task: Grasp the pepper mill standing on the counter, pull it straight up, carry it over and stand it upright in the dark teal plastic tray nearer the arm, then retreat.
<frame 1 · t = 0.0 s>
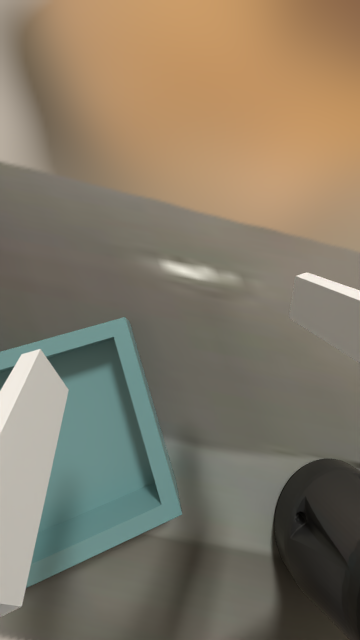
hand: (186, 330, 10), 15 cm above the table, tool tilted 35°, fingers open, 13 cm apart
tray: (66, 430, 23), on the table
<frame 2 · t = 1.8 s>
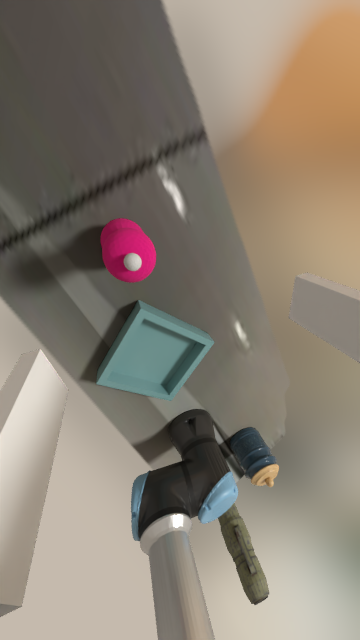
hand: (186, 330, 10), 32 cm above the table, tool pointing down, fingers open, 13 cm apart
tray: (154, 350, 50), on the table
pepper mill: (122, 239, 37), on the table
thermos: (211, 471, 89), on the table
canister: (242, 436, 83), on the table
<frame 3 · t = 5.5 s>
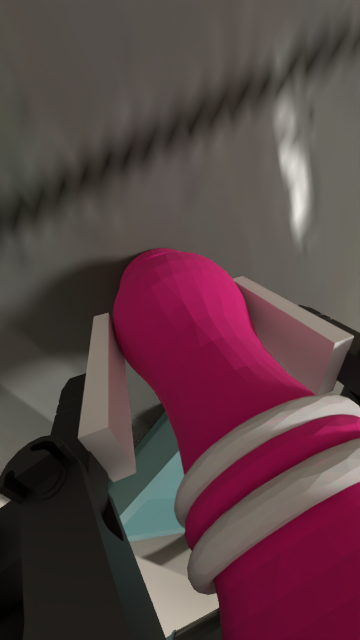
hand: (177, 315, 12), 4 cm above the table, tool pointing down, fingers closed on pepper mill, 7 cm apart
tray: (193, 457, 29), on the table
pepper mill: (161, 289, 15), on the table, touching gripper
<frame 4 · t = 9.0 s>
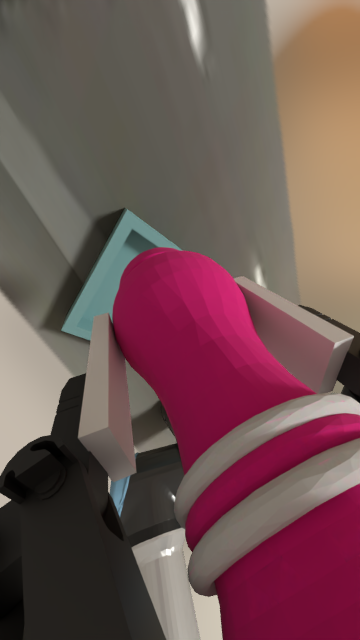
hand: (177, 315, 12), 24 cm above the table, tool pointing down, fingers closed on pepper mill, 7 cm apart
tray: (147, 295, 37), on the table
pepper mill: (161, 289, 15), point 20 cm above the table, touching gripper
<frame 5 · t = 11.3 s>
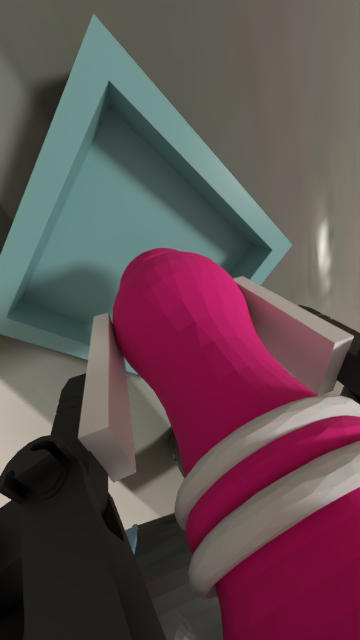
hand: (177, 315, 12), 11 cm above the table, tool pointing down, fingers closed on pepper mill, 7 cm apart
tray: (146, 266, 21), on the table
pepper mill: (161, 289, 15), point 7 cm above the table, touching gripper
when the fingers open (7 cm above the table, at t = 12.8 s): pepper mill drops 1 cm, resting on tray.
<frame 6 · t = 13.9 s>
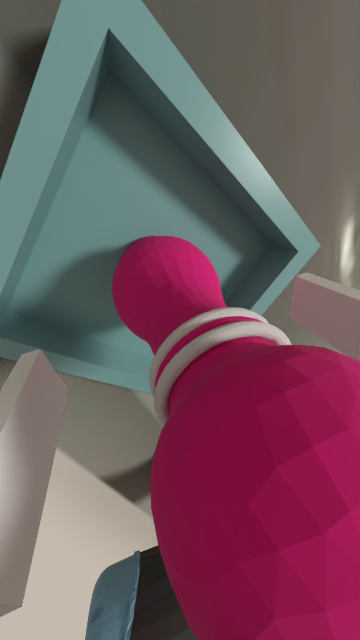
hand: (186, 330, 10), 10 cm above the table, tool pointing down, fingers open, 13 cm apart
tray: (152, 269, 19), on the table
pepper mill: (154, 272, 18), point 1 cm above the table, touching tray
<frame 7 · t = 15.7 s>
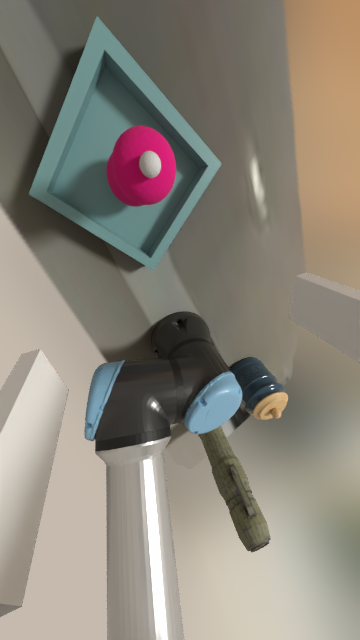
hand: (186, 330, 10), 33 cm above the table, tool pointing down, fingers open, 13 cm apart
tray: (130, 179, 33), on the table
pepper mill: (130, 179, 32), point 1 cm above the table, touching tray
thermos: (202, 413, 75), on the table
canister: (243, 370, 69), on the table
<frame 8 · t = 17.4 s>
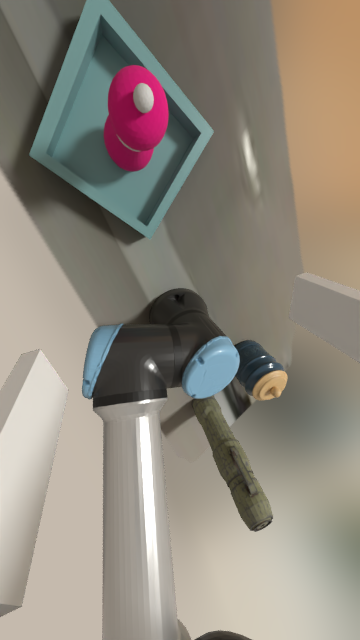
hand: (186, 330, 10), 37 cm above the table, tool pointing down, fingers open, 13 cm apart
tray: (126, 149, 34), on the table
pepper mill: (127, 148, 34), point 1 cm above the table, touching tray
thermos: (202, 400, 75), on the table
canister: (242, 354, 69), on the table
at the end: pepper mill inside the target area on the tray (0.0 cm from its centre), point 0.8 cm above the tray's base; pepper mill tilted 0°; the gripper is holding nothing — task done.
